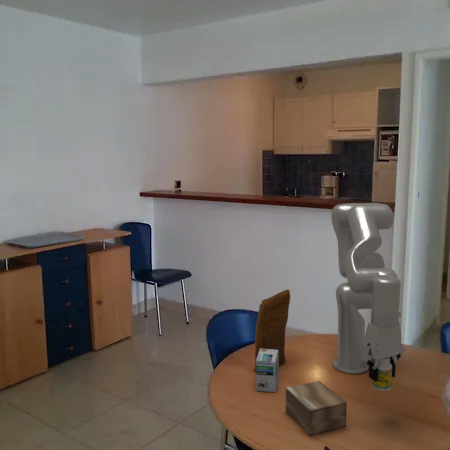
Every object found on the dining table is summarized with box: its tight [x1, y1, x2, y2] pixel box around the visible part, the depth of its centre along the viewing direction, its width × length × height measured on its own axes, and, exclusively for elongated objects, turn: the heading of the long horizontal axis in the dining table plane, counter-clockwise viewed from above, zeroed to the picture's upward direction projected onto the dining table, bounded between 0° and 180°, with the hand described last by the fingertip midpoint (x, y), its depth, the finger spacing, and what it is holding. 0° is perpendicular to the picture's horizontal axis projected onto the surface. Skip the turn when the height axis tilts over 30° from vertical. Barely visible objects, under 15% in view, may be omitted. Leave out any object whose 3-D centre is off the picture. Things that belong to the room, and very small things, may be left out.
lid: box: [284, 380, 348, 412], centre depth 144 cm, size 12×14×1 cm
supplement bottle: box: [371, 357, 393, 392], centre depth 142 cm, size 5×5×10 cm
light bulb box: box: [255, 348, 280, 393], centre depth 166 cm, size 11×7×11 cm, turn 168°
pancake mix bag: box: [254, 288, 291, 373], centre depth 179 cm, size 7×19×28 cm, turn 132°
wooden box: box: [285, 390, 348, 437], centre depth 145 cm, size 12×14×7 cm
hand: (381, 376), depth 142 cm, fingers closed on supplement bottle, 5 cm apart
